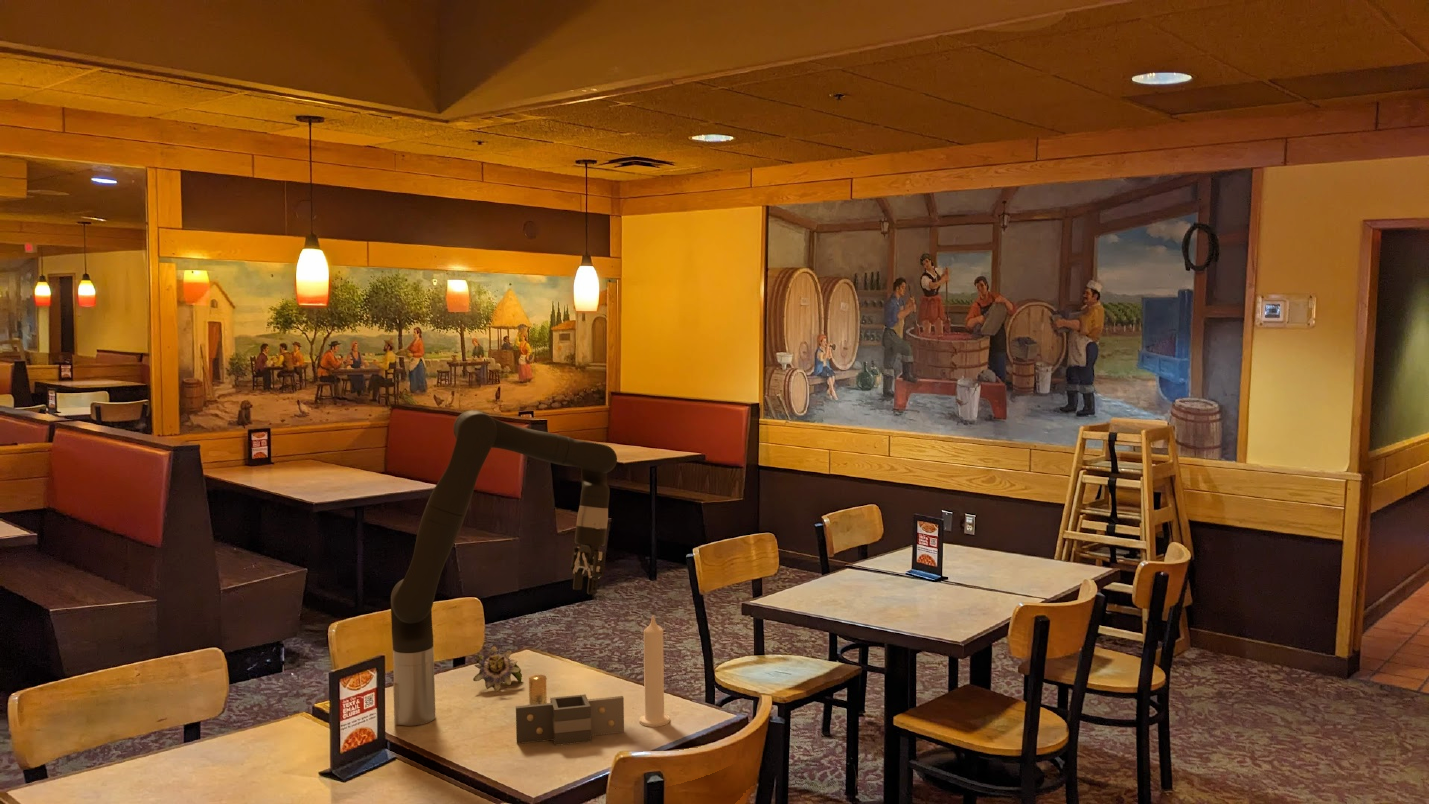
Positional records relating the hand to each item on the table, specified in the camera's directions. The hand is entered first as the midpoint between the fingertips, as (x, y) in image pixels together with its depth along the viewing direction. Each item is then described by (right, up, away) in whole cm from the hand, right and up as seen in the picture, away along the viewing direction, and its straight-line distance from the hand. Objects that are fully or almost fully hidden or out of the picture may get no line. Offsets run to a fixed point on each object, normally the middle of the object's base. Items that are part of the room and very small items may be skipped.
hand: (584, 591), depth 261 cm
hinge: (0, -29, -21) cm, 36 cm away
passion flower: (-24, -27, +14) cm, 39 cm away
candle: (+18, -28, -12) cm, 36 cm away
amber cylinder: (-10, -28, -10) cm, 31 cm away
